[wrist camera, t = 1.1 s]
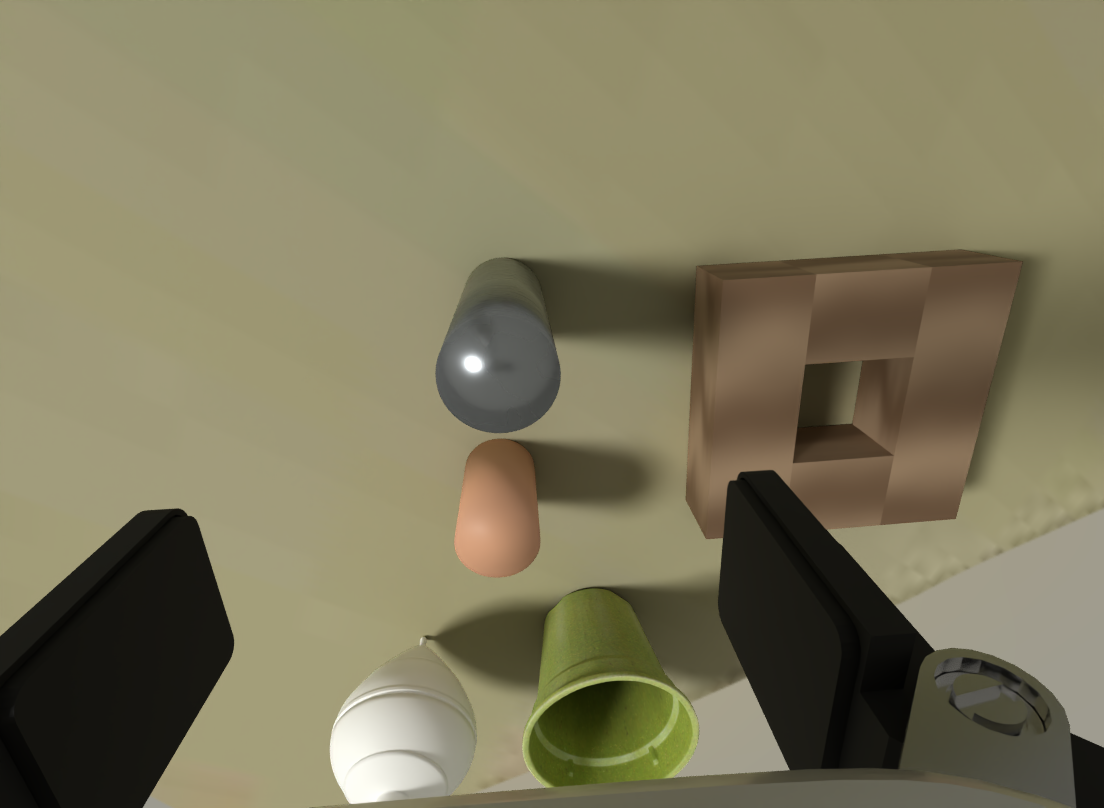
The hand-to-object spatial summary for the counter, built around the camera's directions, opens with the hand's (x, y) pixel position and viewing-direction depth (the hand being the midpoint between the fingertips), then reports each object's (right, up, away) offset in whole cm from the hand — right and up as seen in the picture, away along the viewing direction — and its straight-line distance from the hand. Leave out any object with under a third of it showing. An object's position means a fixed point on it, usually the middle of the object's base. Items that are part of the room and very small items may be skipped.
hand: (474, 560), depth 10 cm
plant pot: (+4, -12, +28) cm, 31 cm away
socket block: (+16, +4, +22) cm, 28 cm away
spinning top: (-7, -12, +28) cm, 31 cm away
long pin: (-1, +8, +19) cm, 21 cm away
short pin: (-2, -1, +23) cm, 23 cm away
